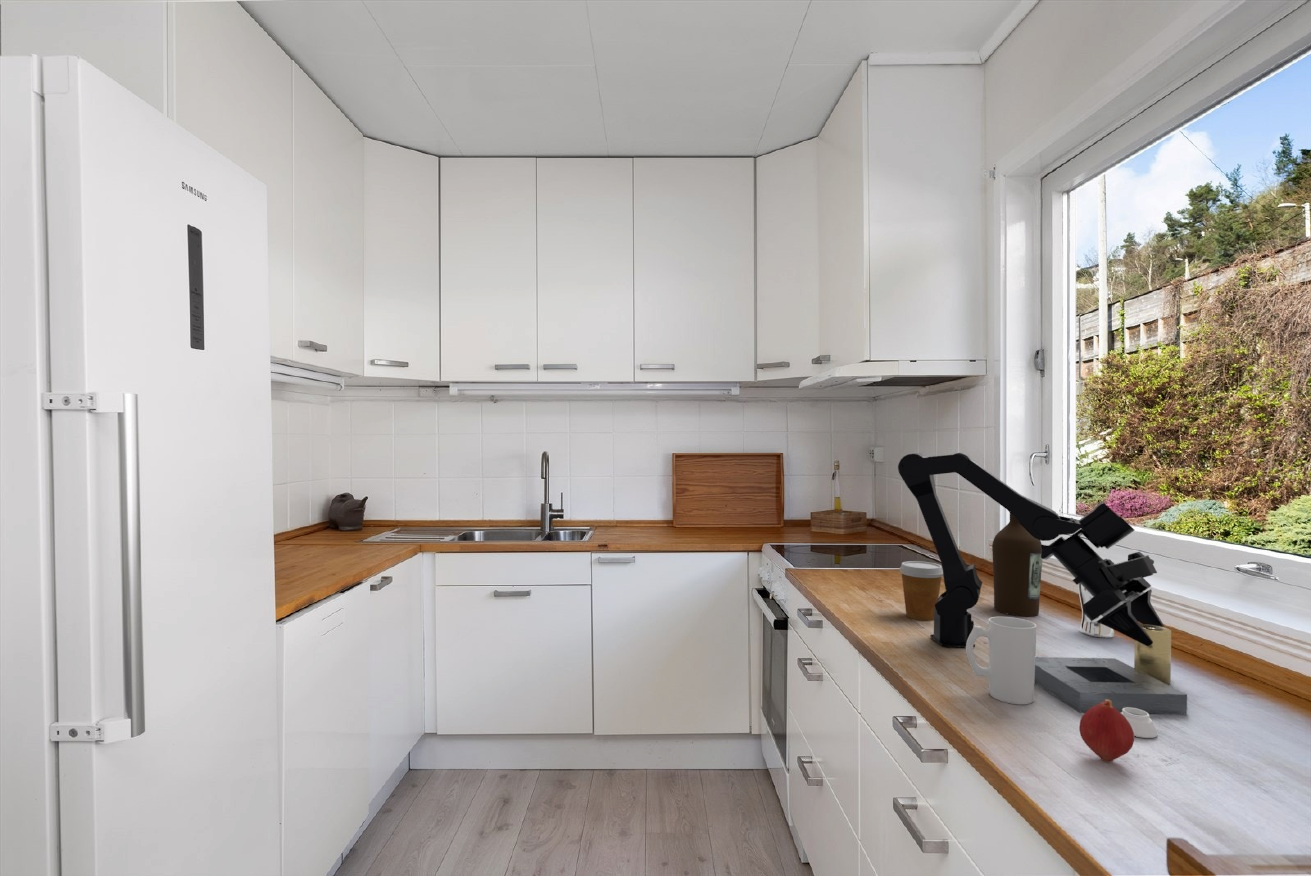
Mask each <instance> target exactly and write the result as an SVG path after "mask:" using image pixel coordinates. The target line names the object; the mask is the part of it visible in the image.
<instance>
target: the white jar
mask: <svg viewBox="0 0 1311 876" xmlns="http://www.w3.org/2000/svg"><path fill="white" fill-rule="evenodd" d="M1122 710H1123V711H1122V712H1121V714H1122V715H1123V716H1124V717H1125V718H1126V719H1127V721H1128V722H1129V723H1130V725H1131V727H1132V729H1133V732H1134V737H1135V736H1136V737H1135V738H1140V739H1152V738H1153V739H1154V738H1156V737H1158V734H1159V733H1158V729H1157V726H1156V725H1155V722H1154V721H1153V720H1152V718H1150V714H1148V713H1147V712H1145V711H1143V710H1140V709H1136V708H1129V707H1126V708H1123V709H1122Z"/></svg>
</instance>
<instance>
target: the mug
mask: <svg viewBox="0 0 1311 876" xmlns="http://www.w3.org/2000/svg"><path fill="white" fill-rule="evenodd" d="M1037 625H1038V624H1036V623H1035V622H1033V621H1031V620H1028V619H1023V618H1018V617H1013V616H993V617H989V618H988V628H983V627H982V626H979V625H975V624H974V626H973V630H972V632H971V633H970V635H969V637H968V640H967V643H966V647H965V652H966V656H967V661H968V662H969V664H970V665H969V666H970V667H971V670H972V672H973V674H974V676H976V677H983V678H986V679H988V692H989V695H990V696H991V697H992V698H994V699H996V700H998V701H1000V702H1004V703H1007V704H1012V705H1020V706H1021V705H1030V704H1032V703H1033V702H1034V697H1035V695H1034V694H1035V693H1034V691H1035V682H1034V680H1035V657H1036V652H1037V651H1036V650H1037V649H1036V648H1037V647H1036V646H1037ZM980 637H985V638H987V639H988V666H986V667H985V666H980V665H979V663H978V662H977V660H976V659H975V654H974V647H973V645H974V644H975V642H976V641H977V640H978V639H979V638H980Z"/></svg>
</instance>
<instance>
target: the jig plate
mask: <svg viewBox="0 0 1311 876" xmlns="http://www.w3.org/2000/svg"><path fill="white" fill-rule="evenodd" d="M1034 684H1037V685H1038V686H1040V687H1041V688H1043V689H1044V690H1046V691H1047V692H1049V693H1051V694H1052V695H1053V696H1054V697H1057V699H1059V700H1061V701H1063V702H1064V703H1065V704H1067V705H1068V706H1070V707H1071V708H1072V709H1074V710H1076V712H1078V713H1086V712H1087V711H1088V710H1089V709H1090V708H1091V707H1093V706H1095V705H1098V704H1100V703H1103V702H1104V700H1105V699H1106V700H1110V701H1112V706H1113V707H1114V708H1115V709H1116V710H1118V711H1119V712H1120V713H1121V712H1122V711H1123V710H1122V709H1123V708H1126V707H1129V708H1136V709H1140V710H1143V711H1145V712H1147V713H1148V714H1149V715H1151V714H1152V715H1153V714H1154V715H1156V714H1157V715H1188V714H1187V713H1188V694H1187V693H1184V692H1183V691H1181V690H1179V689H1177V688H1175V687H1174V686H1173V687H1172V686H1171V685H1167V684H1165V683H1163V682H1161V681H1159V680H1157V679H1155V678H1153V677H1151V676H1149V675H1147V674H1145V673H1143V672H1141V671H1139V670H1137V669H1135V668H1134V666H1131V665H1129V664H1127V663H1125V662H1124V661H1121V660H1120V659H1117V658H1112V657H1111V658H1110V657H1107V658H1106V657H1104V658H1103V657H1101V658H1099V657H1055V656H1051V657H1050V656H1049V657H1048V656H1047V657H1046V656H1035V680H1034Z"/></svg>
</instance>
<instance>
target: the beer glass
mask: <svg viewBox="0 0 1311 876" xmlns="http://www.w3.org/2000/svg"><path fill="white" fill-rule="evenodd" d="M1077 587H1078V595H1079V601H1080V606H1081V622H1080V626H1079V632H1080V633H1081V632H1082V633H1081V634H1083V635H1087V636H1090V637H1095V638H1103V639H1110V638H1114V637H1115V630H1114V629H1111V628H1109V627H1107V626H1105V625H1103V624H1101V623H1100V624H1099V623H1097V622H1096V621H1098V620H1099V619H1101V618H1102V617H1103V616H1102V615H1100V616H1099V617H1098V618H1097V619H1095V620H1093V621H1091V620H1090V619H1089V618H1088V617H1087V616H1086V615H1085V614H1084V613H1083V604H1085V603H1086V602H1088V601H1089V600H1091V598H1093V596H1092V595H1091V594H1090V593H1089V592H1088V591H1087V590H1086V589H1085V588H1084V587H1083V586H1082V584H1081V583H1080V584H1078V585H1077Z"/></svg>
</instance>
